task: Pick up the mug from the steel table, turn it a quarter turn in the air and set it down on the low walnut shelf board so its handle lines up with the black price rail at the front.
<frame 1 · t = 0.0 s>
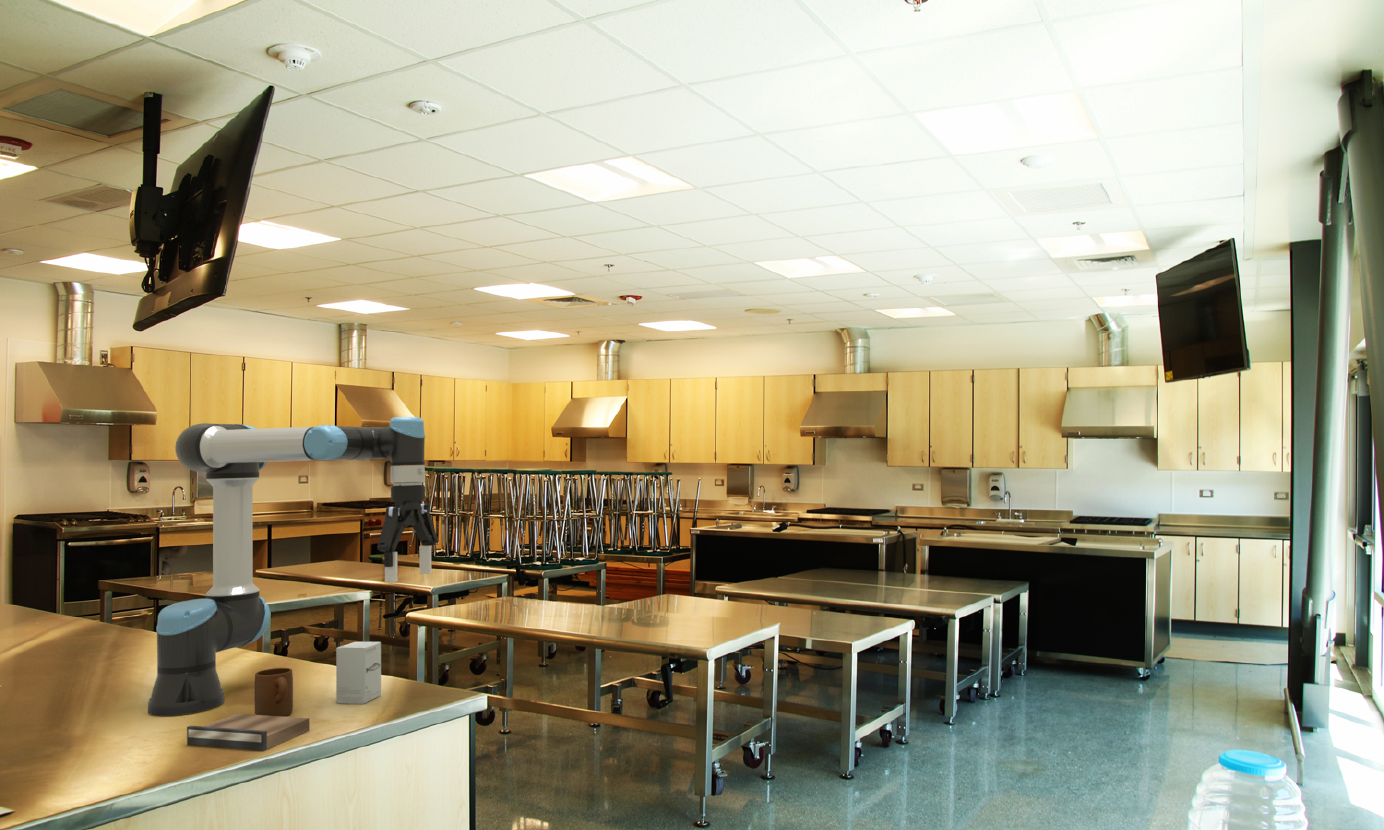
hand: (408, 577, 204), 28 cm above the table, fingers open, 13 cm apart
mug: (276, 718, 193), on the table
supplement box: (359, 700, 206), on the table
shelf: (251, 736, 179), on the table
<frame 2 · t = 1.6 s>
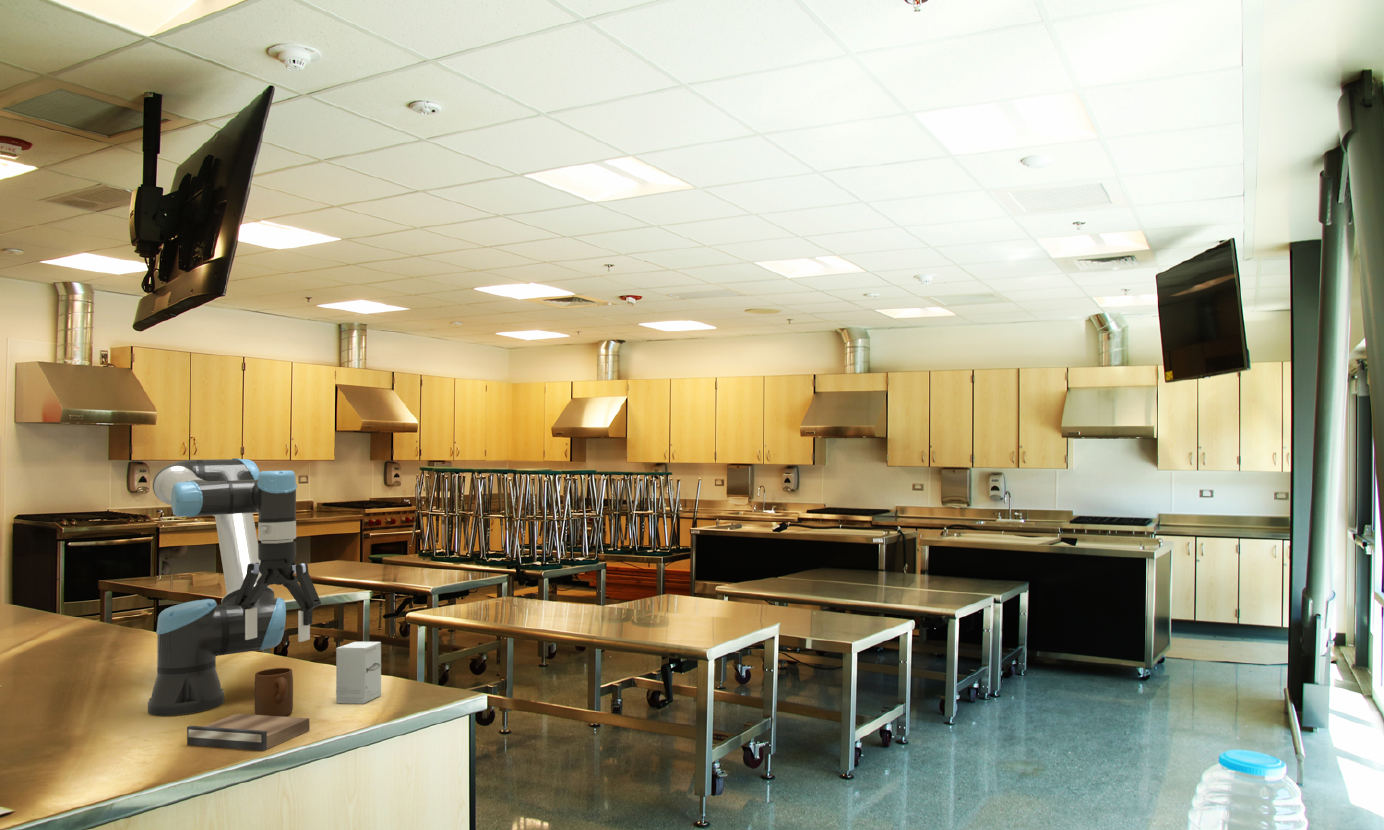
hand: (277, 639, 194), 17 cm above the table, fingers open, 13 cm apart
nothing on the table moved.
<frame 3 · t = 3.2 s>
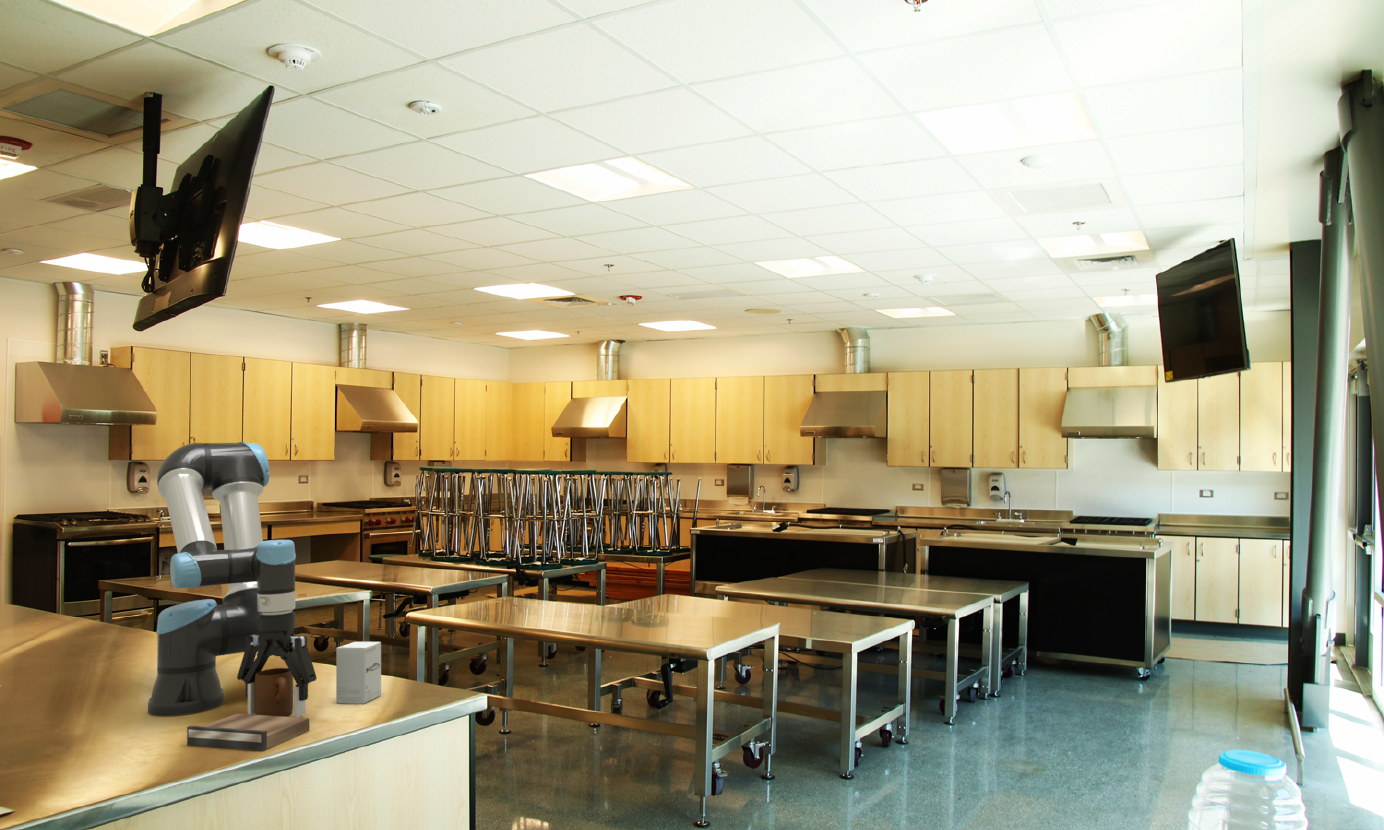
hand: (276, 714, 193), 1 cm above the table, fingers open, 11 cm apart
mug: (276, 718, 193), on the table, touching gripper
everything else where it was.
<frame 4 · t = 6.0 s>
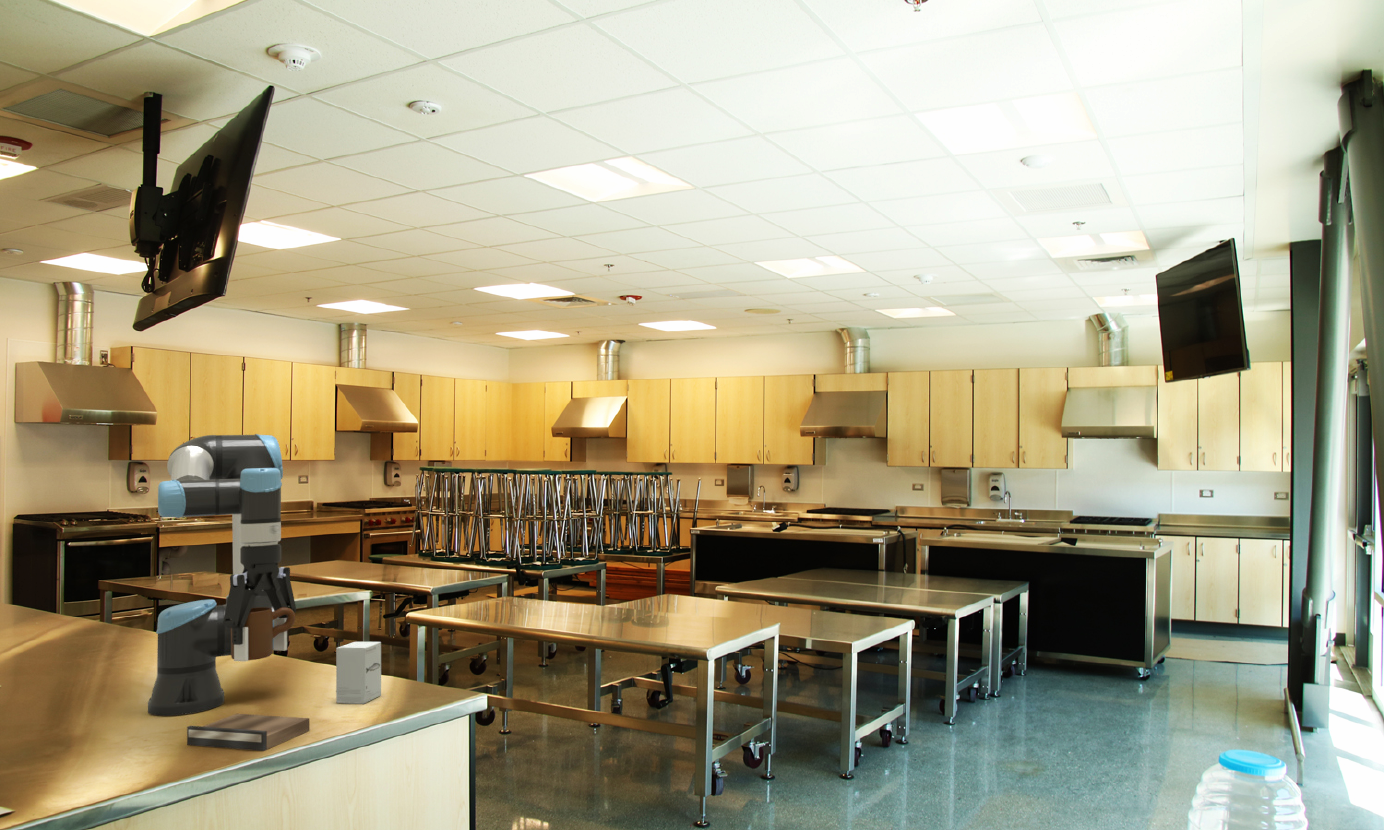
hand: (261, 655, 180), 16 cm above the table, fingers closed on mug, 10 cm apart
mug: (264, 656, 181), point 16 cm above the table, touching gripper
everything else where it was.
when the fingers open (5 cm above the table, at t = 8.4 s): mug drops 2 cm, resting on shelf.
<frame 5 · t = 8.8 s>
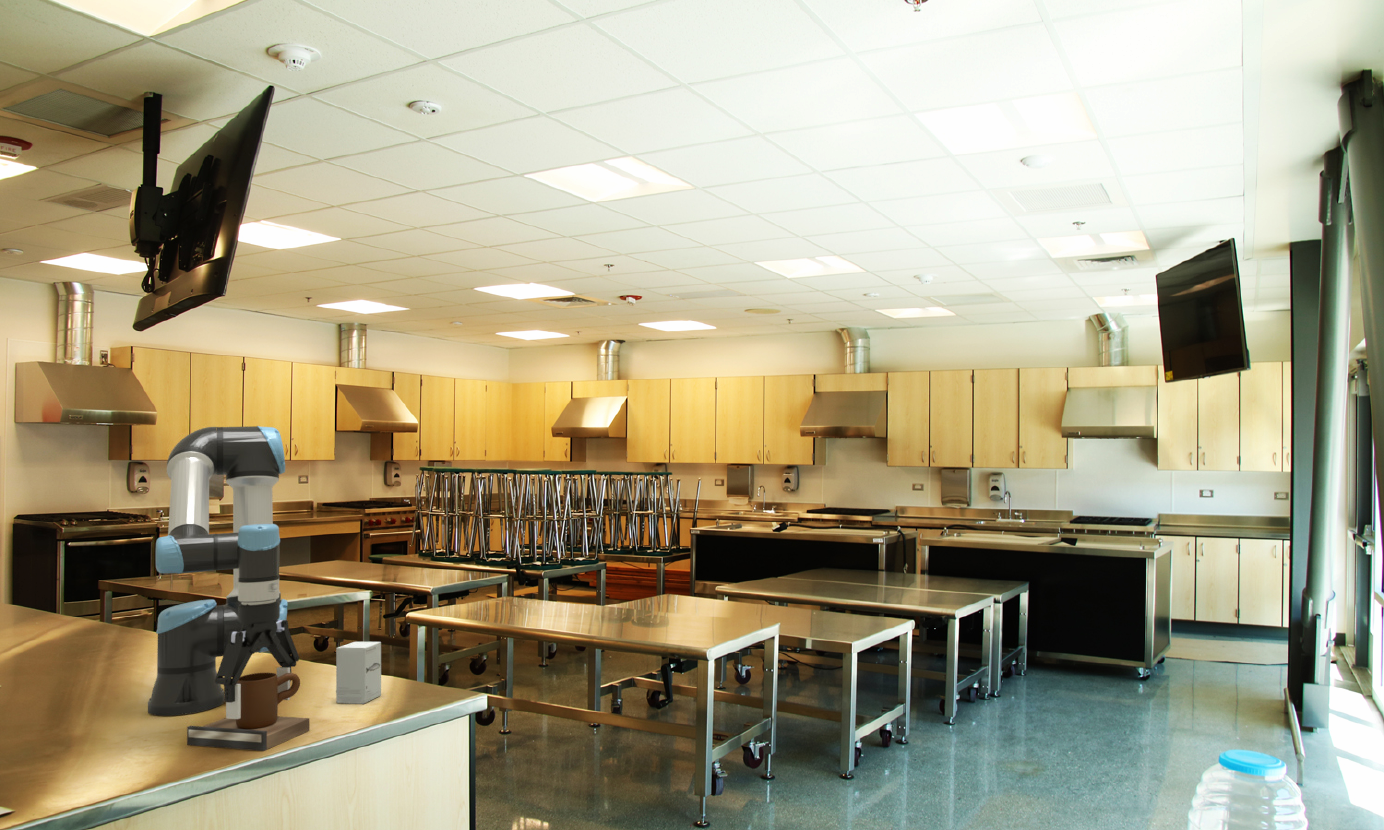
hand: (259, 708, 179), 6 cm above the table, fingers open, 13 cm apart
mug: (268, 722, 181), point 2 cm above the table, touching shelf
everything else where it was.
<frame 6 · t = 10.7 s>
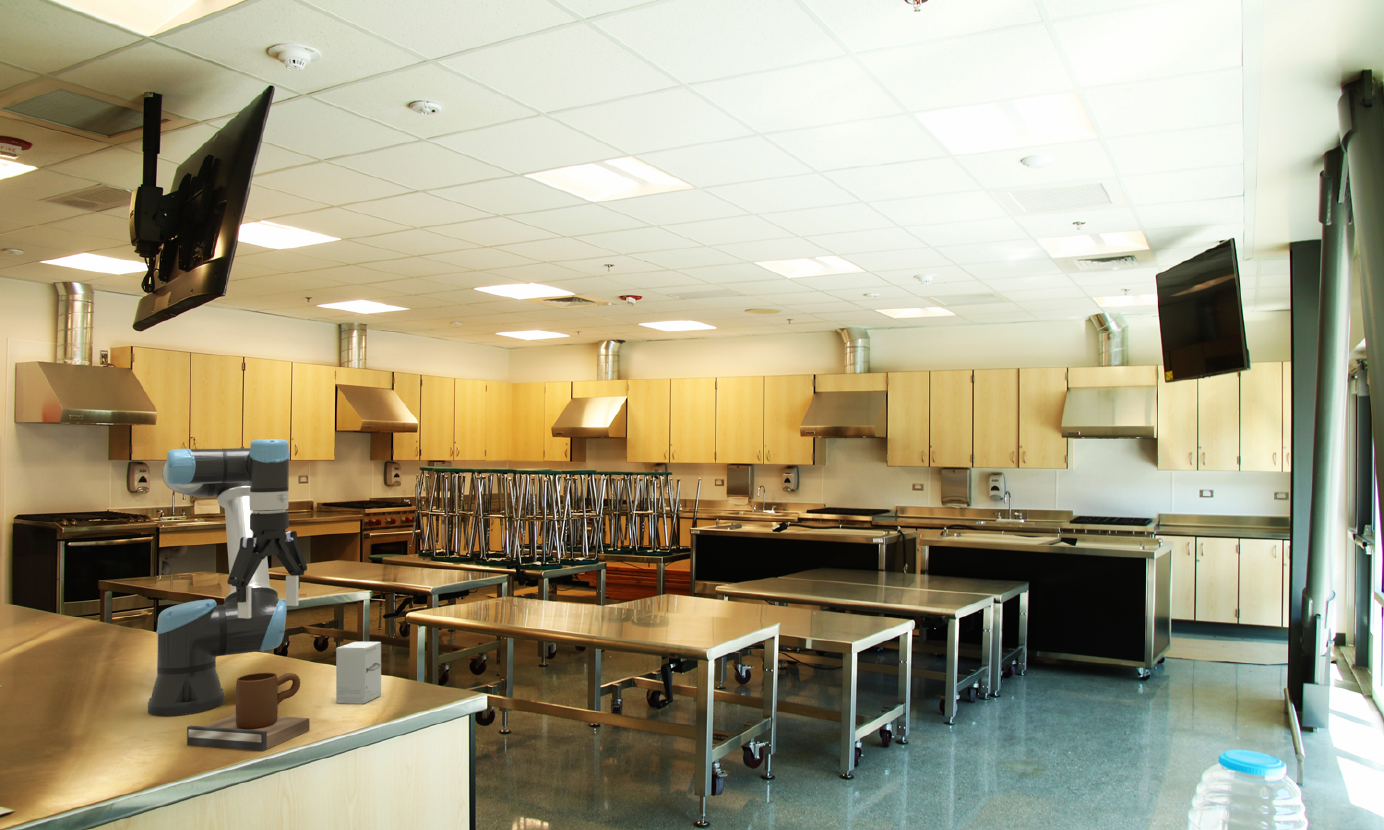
hand: (269, 611, 190), 23 cm above the table, fingers open, 13 cm apart
nothing on the table moved.
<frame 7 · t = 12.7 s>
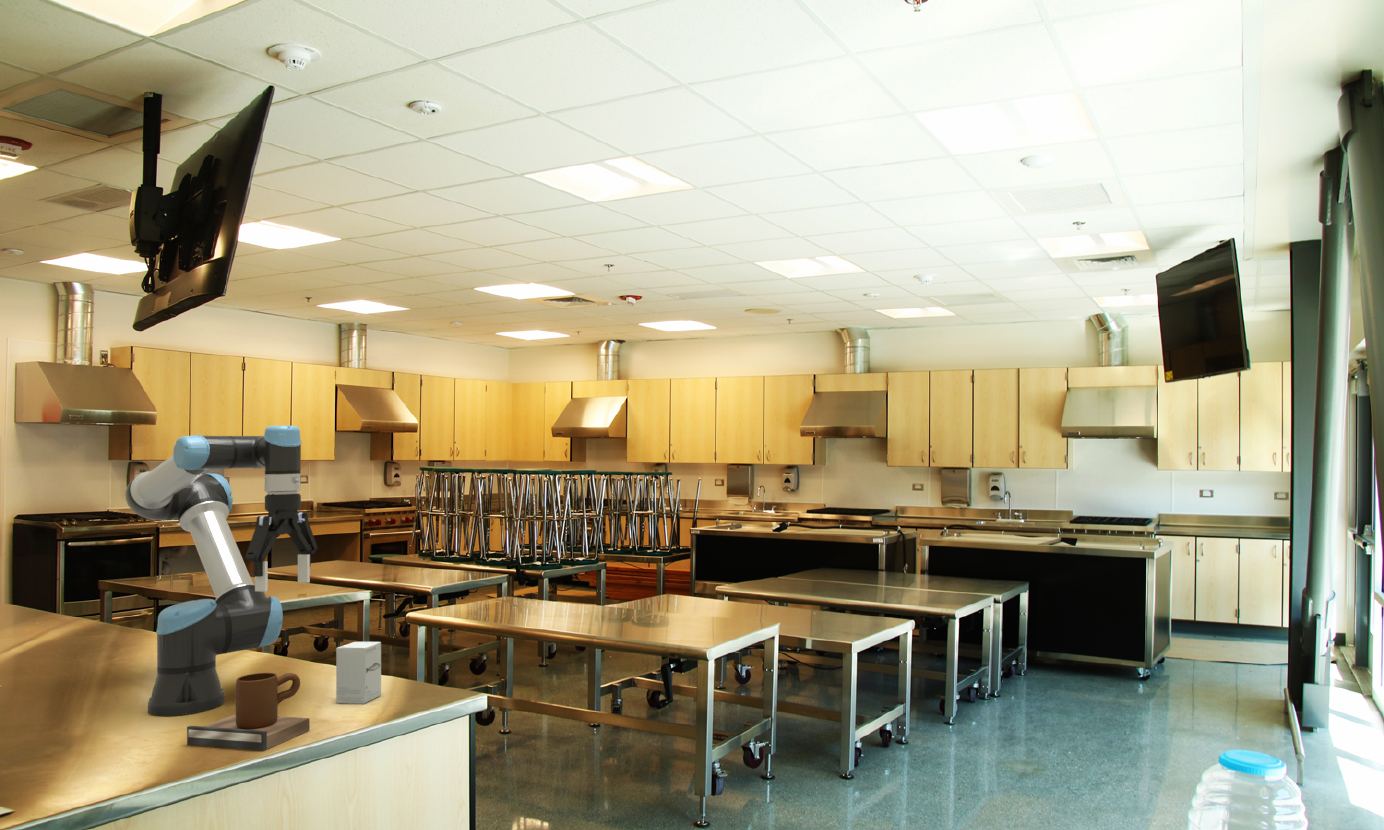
hand: (283, 586, 203), 27 cm above the table, fingers open, 13 cm apart
nothing on the table moved.
at the end: mug inside the target area on the shelf (3.3 cm from its centre), point 2.3 cm above the shelf's base; mug tilted 0°; the gripper is holding nothing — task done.
